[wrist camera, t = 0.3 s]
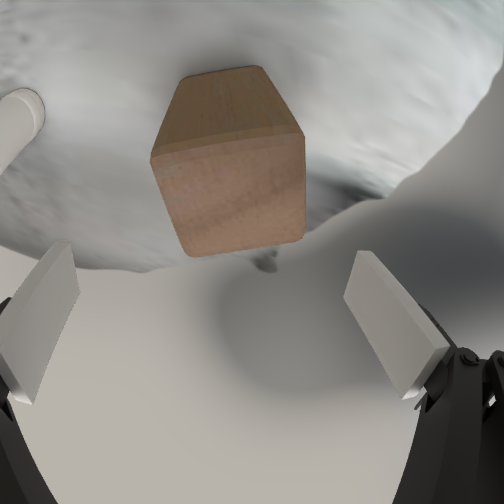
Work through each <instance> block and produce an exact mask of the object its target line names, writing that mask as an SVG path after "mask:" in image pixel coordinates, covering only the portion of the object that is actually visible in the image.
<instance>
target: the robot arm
mask: <svg viewBox="0 0 504 504" xmlns="http://www.w3.org/2000/svg"><path fill="white" fill-rule="evenodd" d="M79 294H80V289H79V284H78V280H77V275H76V270H75V265H74V260H73V255H72V249H71V243H70V241H55V242H54V244H53V245H52V246H51V247H50V248H49V250H48V251H47V252H46V253H45V255H44V256H43V257H42V258H41V260H40V261H39V262H38V263H37V265H36V266H35V267H34V269H33V270H32V271H31V273H30V274H29V275H28V276H27V278H26V279H25V280H24V282H23V283H22V285H21V286H20V287H19V289H18V290H17V291H16V293H15V294H14V296H13V297H12V298H10V297H8V298H7V299H6V300H5V301H3V302H2V303H1V304H0V504H58V503H57V502H56V500H55V498H54V497H53V495H52V493H51V492H50V490H49V488H48V486H47V485H46V483H45V481H44V479H43V477H42V475H41V474H40V472H39V470H38V468H37V466H36V464H35V462H34V460H33V458H32V456H31V453H30V452H29V449H28V447H27V445H26V443H25V440H24V438H23V435H22V433H21V431H20V428H19V426H18V423H17V421H16V418H15V415H14V413H13V410H12V407H11V404H10V403H9V401H8V399H7V396H8V393H9V391H10V392H11V393H12V395H13V396H14V397H15V399H16V400H17V401H20V402H24V403H28V404H31V405H33V403H34V400H35V397H36V395H37V392H38V389H39V386H40V384H41V381H42V378H43V376H44V373H45V370H46V368H47V365H48V363H49V360H50V358H51V355H52V353H53V350H54V348H55V346H56V343H57V341H58V339H59V337H60V334H61V332H62V330H63V328H64V325H65V323H66V321H67V319H68V317H69V315H70V312H71V310H72V308H73V306H74V304H75V302H76V300H77V298H78V296H79ZM343 298H344V300H345V302H346V303H347V305H348V307H349V308H350V310H351V312H352V313H353V315H354V317H355V318H356V320H357V321H358V323H359V325H360V327H361V328H362V330H363V332H364V334H365V335H366V337H367V339H368V341H369V342H370V344H371V346H372V347H373V349H374V351H375V353H376V354H377V356H378V358H379V360H380V362H381V363H382V365H383V367H384V369H385V371H386V372H387V374H388V376H389V378H390V380H391V381H392V383H393V385H394V387H395V389H396V391H397V393H398V394H399V396H400V398H401V399H402V400H403V399H406V398H410V397H413V396H416V395H417V394H418V393H419V391H420V390H421V388H422V387H423V386H424V387H425V389H426V390H427V392H426V393H425V395H424V396H423V397H422V399H421V400H420V401H419V402H418V404H417V405H416V406H415V408H414V409H415V410H417V408H418V407H419V406H420V405H421V410H420V414H419V419H418V423H417V427H416V431H415V435H414V439H413V443H412V446H411V450H410V453H409V457H408V460H407V463H406V466H405V469H404V472H403V476H402V478H401V482H400V484H399V487H398V490H397V492H396V495H395V498H394V500H393V503H392V504H504V352H502V351H499V350H498V351H497V350H496V351H495V352H493V354H492V355H491V357H490V358H489V360H485V359H479V357H478V356H477V355H476V354H475V353H474V352H473V351H471V350H470V349H468V348H464V347H462V348H457V346H456V345H455V344H454V342H453V341H452V340H451V339H450V337H449V336H448V335H447V333H446V332H445V331H444V330H443V328H442V327H440V326H439V324H438V322H437V321H436V320H434V317H433V316H432V315H431V314H430V312H429V311H428V310H427V309H425V308H424V307H423V306H421V305H420V304H417V303H416V302H415V301H414V299H413V298H412V297H411V296H410V295H409V294H408V292H407V291H406V290H405V289H404V288H403V286H402V285H401V284H400V283H399V282H398V281H397V280H396V279H395V277H394V276H393V275H392V274H391V273H390V272H389V270H388V269H387V268H386V267H385V266H384V265H383V264H382V263H381V261H380V260H379V259H378V258H377V257H376V256H375V255H374V254H373V253H372V252H371V251H357V255H356V258H355V262H354V265H353V268H352V272H351V275H350V278H349V281H348V284H347V287H346V291H345V294H344V297H343ZM493 396H495V399H496V401H495V402H494V404H493V405H492V406H489V401H490V399H491V398H492V397H493Z"/></svg>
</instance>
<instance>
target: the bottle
mask: <svg viewBox="0 0 504 504" xmlns="http://www.w3.org/2000/svg"><path fill="white" fill-rule="evenodd" d="M44 119H45V111H44V106H43V103H42V101H41V99H40V98H39V97H38V95H37V94H36V93H35V92H33V91H31V90H29V89H23V88H21V89H18V90H15V91H13V92H11V93H9V94H7V95H6V96H4V97H3V98H2V99H1V100H0V175H1V174H2V173H3V171H4V170H5V169H6V168H7V166H8V165H9V164H10V163H11V162H12V161H13V159H14V158H15V157H16V156H17V155H18V154H19V153H20V151H21V150H22V149H23V148H24V147H25V146H26V145H27V144H28V143H30V142H31V141H32V140H33V138H34V137H35V136H36V134H37V133H38V132H39V131H40V129H41V128H42V126H43V123H44Z"/></svg>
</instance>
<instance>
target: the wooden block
mask: <svg viewBox="0 0 504 504" xmlns="http://www.w3.org/2000/svg"><path fill="white" fill-rule="evenodd" d="M150 164H151V167H152V170H153V172H154V175H155V178H156V181H157V184H158V186H159V189H160V192H161V194H162V197H163V200H164V202H165V205H166V208H167V210H168V213H169V216H170V218H171V221H172V223H173V226H174V228H175V231H176V233H177V236H178V238H179V241H180V243H181V246H182V248H183V250H184V252H185V253H186V254H187V255H188V256H190V257H202V256H208V255H215V254H221V253H228V252H234V251H240V250H247V249H253V248H260V247H266V246H272V245H279V244H285V243H292V242H296V241H298V240H300V239H302V238H303V236H304V233H305V229H306V162H305V136H304V134H303V132H302V130H301V128H300V126H299V125H298V123H297V121H296V120H295V118H294V116H293V115H292V113H291V112H290V110H289V108H288V107H287V105H286V103H285V102H284V100H283V99H282V97H281V96H280V94H279V92H278V91H277V89H276V88H275V86H274V85H273V83H272V82H271V80H270V79H269V77H268V76H267V74H266V73H265V71H264V70H263V68H262V67H258V66H251V67H243V68H236V69H229V70H223V71H217V72H212V73H206V74H201V75H196V76H191V77H187V78H184V79H183V80H181V81H180V82H179V85H178V87H177V89H176V91H175V94H174V96H173V98H172V101H171V103H170V105H169V108H168V110H167V113H166V115H165V118H164V120H163V123H162V125H161V128H160V130H159V133H158V135H157V138H156V141H155V143H154V146H153V149H152V152H151V158H150Z"/></svg>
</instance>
